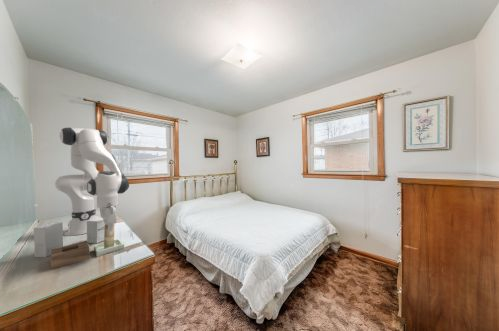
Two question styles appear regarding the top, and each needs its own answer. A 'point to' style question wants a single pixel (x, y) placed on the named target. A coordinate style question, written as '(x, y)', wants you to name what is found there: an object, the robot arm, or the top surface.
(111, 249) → the sage tray
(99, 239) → the supplement box
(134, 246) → the top surface
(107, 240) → the beech dowel
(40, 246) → the skincare box
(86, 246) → the walnut hole block
